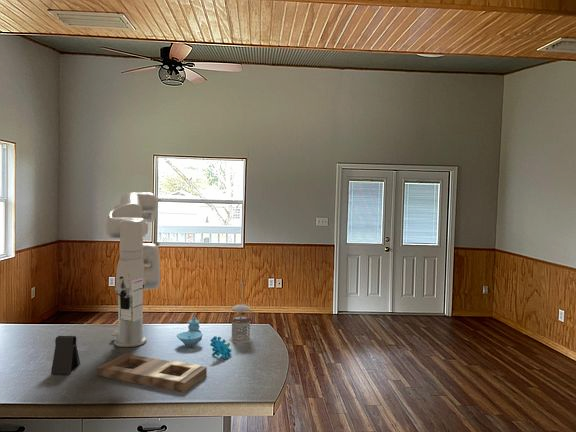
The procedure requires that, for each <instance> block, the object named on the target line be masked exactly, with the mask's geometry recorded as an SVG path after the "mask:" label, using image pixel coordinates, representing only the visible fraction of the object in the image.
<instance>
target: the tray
mask: <svg viewBox="0 0 576 432" xmlns="http://www.w3.org/2000/svg"><path fill="white" fill-rule="evenodd" d="M128 367H132V368H128ZM207 368H208V367H207V366H204V365H203V366H202V364H195V363H191V362H190V363H189V362H184V361H183V362H182V361H177V360H165V359H160V358H153V357H147V356H141V355H136V354H130V353H124V354H123V355H120V356H118V357H116V358H114V359H112V360H111V361H108V362H106V363H104V364H102V365H100V366H98V367H97V376H98V377H101V378H107V379H113V380H118V381H122V382H128V383H132V384H133V383H134V384H140V385H145V386H151V387H153V388H154V387H155V388H161V389H166V390H171V391H175V392H176V391H177V392H181V393H186V392H187V391H188V390H190V389H191V388H193V387H194V386H195V385H196V384H198V383H199V382H200V381H202V380H203V379H204V378H206V377H207V373H208V372H207Z"/></svg>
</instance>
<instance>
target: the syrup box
mask: <svg viewBox="0 0 576 432" xmlns="http://www.w3.org/2000/svg"><path fill="white" fill-rule="evenodd" d="M123 288H125V286H123ZM125 292H126V290H124V293H125ZM143 293H144V290H143V278H137V279H135V280H132V281H131V289H129V295H128V298H129V309H128V310H127V309H121V298H120V320H124V321H131V322H134V321H136V320H139V319H141V318H143V317H144V316H143V315H144V313H143V312H144V311H143V310H144V306H143V304H144V303H143V299H144V298H143V297H144V296H143V295H144V294H143Z"/></svg>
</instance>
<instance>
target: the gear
mask: <svg viewBox="0 0 576 432" xmlns="http://www.w3.org/2000/svg"><path fill="white" fill-rule="evenodd" d="M209 345H210V347H212V349H211V350H212V352H213V353H212V354H211V356H212V357H214V356H215V355H216V356H217V357H219V356H220V355H221V356H220V359H222V360H224V359H225V360H228V359H229V358H230V357H231V356H232V349H231V348H230V346H231V342H227V341H226V340H225V338H224V339H222V337H220V336H218V337H217V336H213V337H212V338H211V339H210V344H209Z"/></svg>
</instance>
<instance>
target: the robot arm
mask: <svg viewBox="0 0 576 432" xmlns="http://www.w3.org/2000/svg"><path fill="white" fill-rule="evenodd" d="M157 212H158V199H157V197H156V195H155V193H153V192H137V191H134V192H133V191H131V192H126V193H124V194H123V195H122V196H121V197H120V199H119V203H118V204H116V205H115V206H114V209H111V210H110V211H109V213H108V214H107V216H106V221H105V232H106V233H105V234H106V235H107V237H108V238H110V239H117V240H118V239H119V260H118V261H117V266H116V273H115V274H116V276H115V288H114V291H115V292H116V294H117V296H118V297H117V299H118V300H117V301H118V304H117V305H118V308H117V309H118V311H117V312H118V315H117V316H118V322H117V323H118V324H117V325H118V328H117V329H118V330H117V329H114V330H113V331H112V333H111V336H112V337H116V338H115V340H114V341H113V342H114V346H117V347H119V348H133V347H139V346H141V345H144V344H145V343H147V337H146V336H144V335H143V318H141V319H139V320H136V321H134V322H131V321H124V320H120V298H121V309H127V310H128V309H129V298H128V295H129V289H131V281H132V280H135V279H137V278H143V291H145V290H146V291H147V290H156V289H158V288H159V287H160V285H161V257H160V250H159V249H160V248H159V246H158V245H157V244H155V243H151V242H148V243H145V242H144V237H145V236H146V235H147V234H148V232H149V224H148V223H152V222H155V220H156V218H157ZM123 286H125V288H123ZM124 290H126V292H125V293H124Z"/></svg>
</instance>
